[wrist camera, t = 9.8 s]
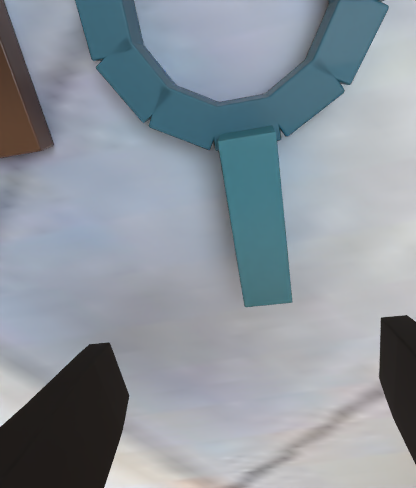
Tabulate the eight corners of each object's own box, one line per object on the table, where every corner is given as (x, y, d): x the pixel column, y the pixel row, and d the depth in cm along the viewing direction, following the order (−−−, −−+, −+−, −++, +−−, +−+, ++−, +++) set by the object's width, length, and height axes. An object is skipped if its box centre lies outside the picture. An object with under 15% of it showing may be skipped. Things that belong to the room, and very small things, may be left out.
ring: (371, 255, 17) (396, 292, 15) (165, 279, 19) (151, 317, 16) (377, -252, 11) (428, -370, 8) (51, -151, 12) (-8, -220, 9)
